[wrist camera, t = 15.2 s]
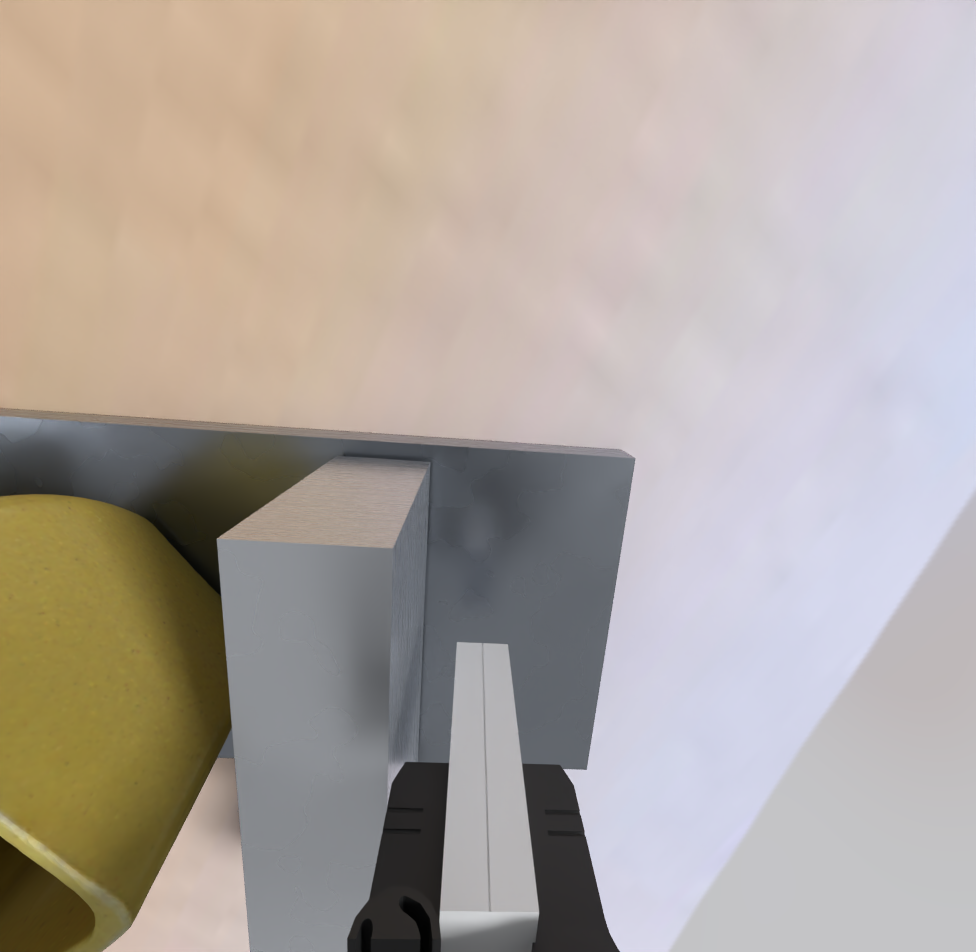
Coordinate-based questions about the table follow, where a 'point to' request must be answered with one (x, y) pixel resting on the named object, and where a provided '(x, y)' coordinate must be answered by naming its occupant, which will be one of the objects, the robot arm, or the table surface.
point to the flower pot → (97, 715)
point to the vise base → (450, 539)
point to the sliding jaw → (323, 688)
